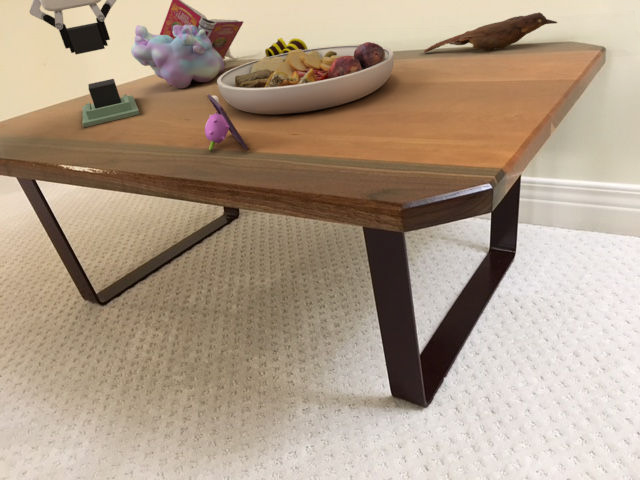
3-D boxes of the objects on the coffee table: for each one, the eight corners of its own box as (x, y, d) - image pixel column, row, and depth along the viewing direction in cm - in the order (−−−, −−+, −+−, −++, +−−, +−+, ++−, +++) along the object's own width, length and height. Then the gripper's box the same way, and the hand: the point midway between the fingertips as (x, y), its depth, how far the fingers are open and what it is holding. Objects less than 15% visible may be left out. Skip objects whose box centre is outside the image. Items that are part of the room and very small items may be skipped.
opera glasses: (267, 66, 126) (260, 46, 123) (283, 57, 129) (276, 36, 126) (294, 68, 120) (287, 46, 117) (311, 58, 122) (304, 36, 119)
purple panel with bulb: (226, 102, 68) (213, 90, 76) (191, 125, 68) (181, 111, 75) (253, 146, 72) (238, 130, 79) (221, 168, 71) (208, 150, 79)
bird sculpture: (429, 61, 113) (424, 37, 111) (559, 30, 101) (556, 2, 99) (422, 70, 108) (416, 45, 106) (558, 38, 96) (554, 9, 94)
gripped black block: (75, 54, 94) (67, 30, 92) (76, 51, 99) (68, 28, 97) (104, 48, 95) (97, 24, 94) (103, 45, 101) (96, 22, 99)
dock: (83, 127, 97) (74, 101, 95) (83, 110, 110) (75, 86, 108) (139, 114, 99) (131, 88, 97) (133, 98, 113) (126, 75, 111)
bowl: (188, 122, 89) (175, 73, 85) (276, 75, 112) (268, 35, 108) (357, 120, 76) (350, 63, 72) (417, 68, 99) (414, 22, 95)
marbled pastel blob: (114, 77, 111) (133, -10, 102) (142, 54, 129) (161, -22, 121) (209, 114, 115) (236, 33, 107) (223, 86, 133) (247, 15, 125)
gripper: (-9, -60, 83) (38, 61, 92) (104, -77, 88) (139, 40, 96) (-3, -57, 90) (41, 56, 98) (102, -73, 94) (135, 37, 103)
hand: (89, 47), depth 97 cm, fingers closed on gripped black block, 5 cm apart
